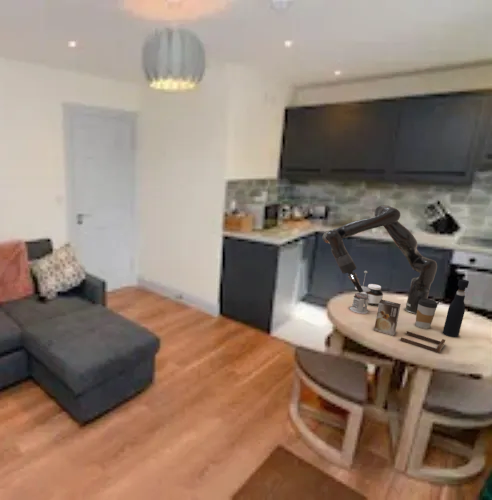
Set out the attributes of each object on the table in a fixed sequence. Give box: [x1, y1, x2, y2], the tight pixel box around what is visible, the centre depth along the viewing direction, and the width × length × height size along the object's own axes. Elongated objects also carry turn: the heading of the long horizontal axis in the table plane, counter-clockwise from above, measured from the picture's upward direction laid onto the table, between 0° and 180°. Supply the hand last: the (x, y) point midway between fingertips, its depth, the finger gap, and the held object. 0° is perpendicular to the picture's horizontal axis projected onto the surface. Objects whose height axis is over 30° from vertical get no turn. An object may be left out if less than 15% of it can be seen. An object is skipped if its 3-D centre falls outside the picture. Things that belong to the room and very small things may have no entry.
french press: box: [349, 270, 371, 315], centre depth 215 cm, size 10×12×25 cm
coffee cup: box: [415, 298, 438, 330], centre depth 198 cm, size 8×8×15 cm
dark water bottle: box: [442, 278, 470, 338], centre depth 187 cm, size 6×6×30 cm
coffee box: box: [373, 298, 402, 337], centre depth 192 cm, size 9×6×16 cm
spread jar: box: [360, 283, 384, 306], centre depth 229 cm, size 12×11×12 cm
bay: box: [400, 330, 446, 354], centre depth 182 cm, size 11×16×3 cm
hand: (361, 291), depth 199 cm, fingers closed
